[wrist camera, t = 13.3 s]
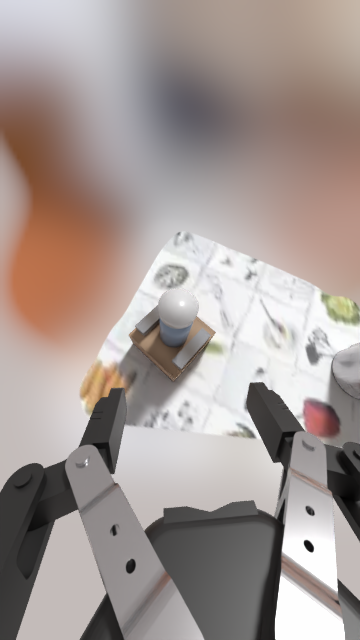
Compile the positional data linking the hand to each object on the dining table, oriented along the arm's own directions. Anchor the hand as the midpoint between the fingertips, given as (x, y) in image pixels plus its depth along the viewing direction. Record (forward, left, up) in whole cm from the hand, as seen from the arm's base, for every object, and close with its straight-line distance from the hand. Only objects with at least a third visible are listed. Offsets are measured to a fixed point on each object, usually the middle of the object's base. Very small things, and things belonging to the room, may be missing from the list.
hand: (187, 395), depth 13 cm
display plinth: (-7, -7, -22) cm, 24 cm away
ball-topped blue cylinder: (-7, -7, -17) cm, 20 cm away
